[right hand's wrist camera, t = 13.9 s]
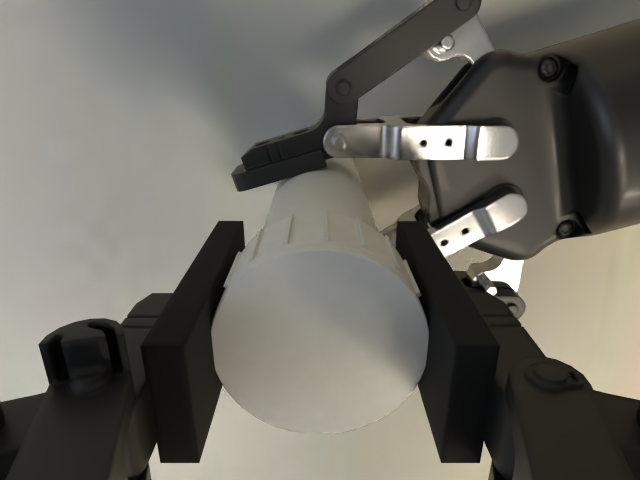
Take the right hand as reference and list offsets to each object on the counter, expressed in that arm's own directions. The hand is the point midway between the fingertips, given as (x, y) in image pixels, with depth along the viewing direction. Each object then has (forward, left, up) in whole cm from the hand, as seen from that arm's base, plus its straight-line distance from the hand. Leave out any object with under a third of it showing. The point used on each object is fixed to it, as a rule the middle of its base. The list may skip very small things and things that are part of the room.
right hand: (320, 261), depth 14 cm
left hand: (+1, +3, -5) cm, 6 cm away
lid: (0, 0, +4) cm, 4 cm away
